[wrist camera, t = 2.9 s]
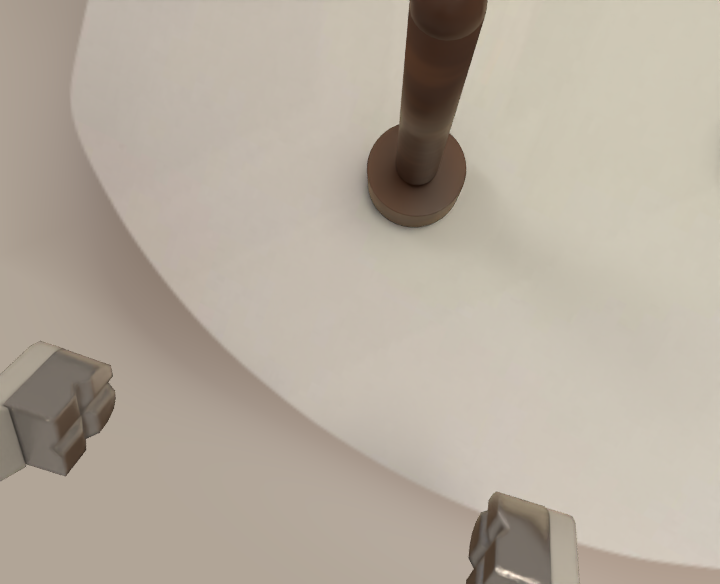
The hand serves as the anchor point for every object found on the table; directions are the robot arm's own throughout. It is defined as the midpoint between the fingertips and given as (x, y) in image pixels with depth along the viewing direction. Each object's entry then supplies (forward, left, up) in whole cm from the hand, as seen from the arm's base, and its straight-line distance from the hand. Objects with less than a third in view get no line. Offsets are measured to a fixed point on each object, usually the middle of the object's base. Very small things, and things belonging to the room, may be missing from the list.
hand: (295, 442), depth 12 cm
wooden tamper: (+5, +11, -19) cm, 23 cm away
